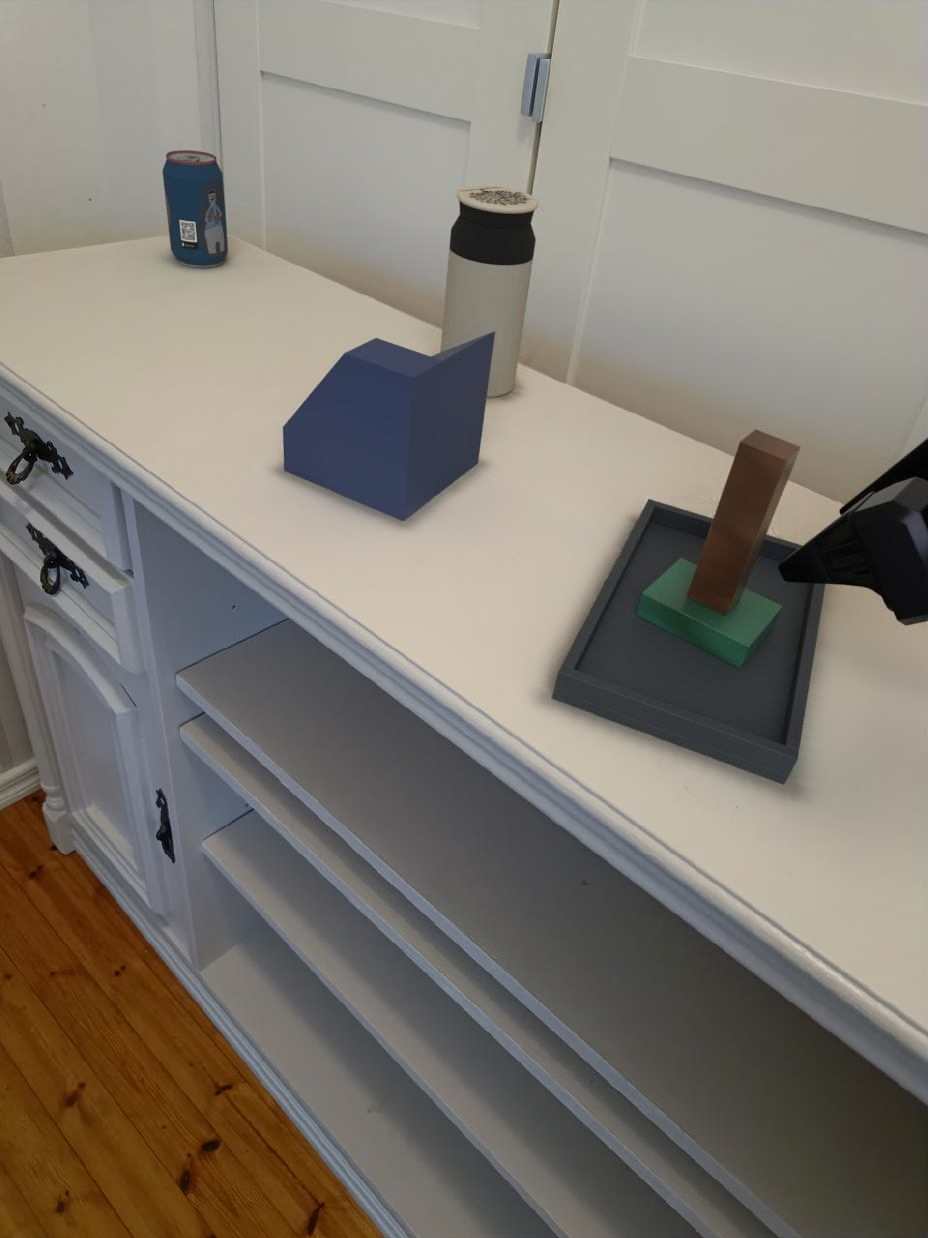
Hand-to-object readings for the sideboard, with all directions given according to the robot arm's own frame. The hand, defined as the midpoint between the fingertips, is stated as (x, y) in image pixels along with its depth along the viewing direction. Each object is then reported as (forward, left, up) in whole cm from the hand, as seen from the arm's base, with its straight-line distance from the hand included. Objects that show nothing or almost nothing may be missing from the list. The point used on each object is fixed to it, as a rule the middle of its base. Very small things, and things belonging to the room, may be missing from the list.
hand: (813, 543), depth 52 cm
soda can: (+34, -82, -10) cm, 89 cm away
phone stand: (+21, -29, -10) cm, 37 cm away
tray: (+3, -4, -10) cm, 11 cm away
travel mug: (+8, -45, -10) cm, 46 cm away
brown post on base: (+2, -4, -9) cm, 10 cm away
